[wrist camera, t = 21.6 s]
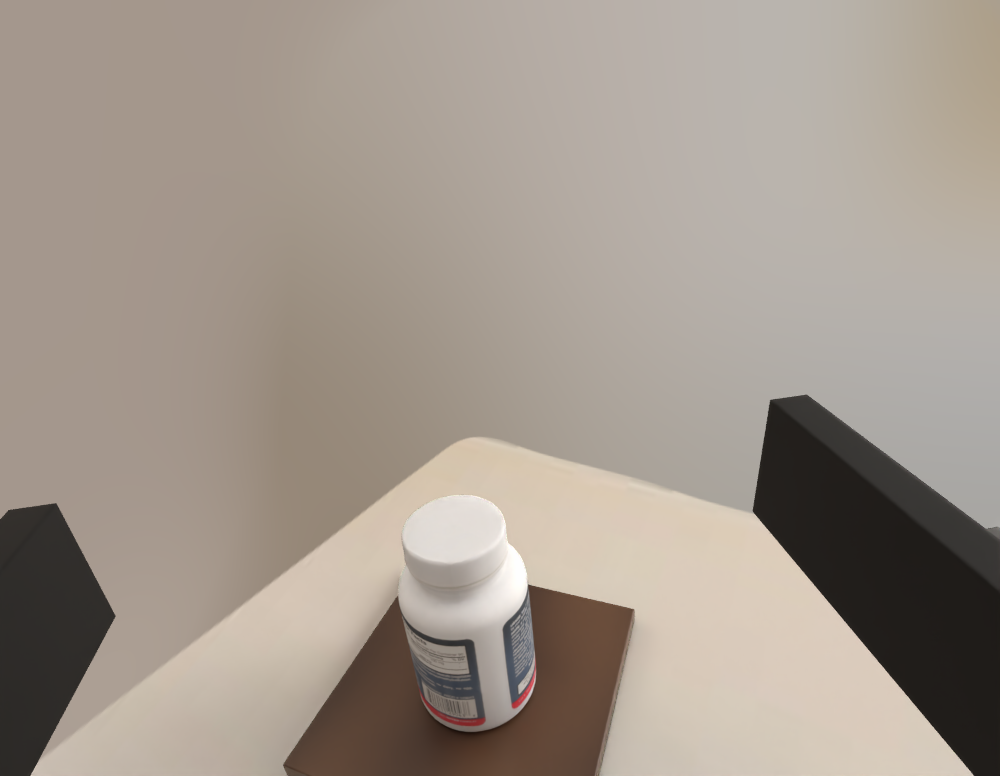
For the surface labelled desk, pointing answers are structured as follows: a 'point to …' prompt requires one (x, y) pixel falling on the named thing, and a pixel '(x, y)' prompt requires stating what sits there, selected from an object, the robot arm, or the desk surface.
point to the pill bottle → (466, 613)
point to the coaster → (484, 754)
